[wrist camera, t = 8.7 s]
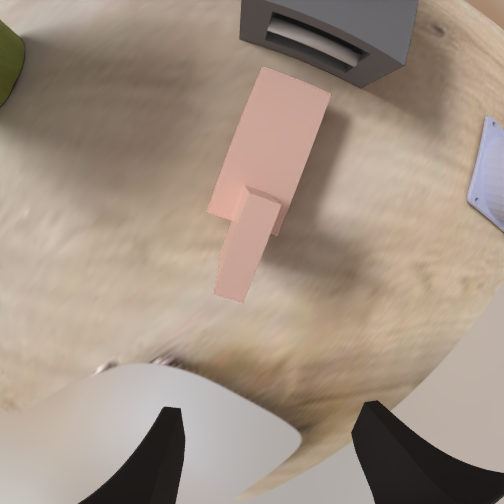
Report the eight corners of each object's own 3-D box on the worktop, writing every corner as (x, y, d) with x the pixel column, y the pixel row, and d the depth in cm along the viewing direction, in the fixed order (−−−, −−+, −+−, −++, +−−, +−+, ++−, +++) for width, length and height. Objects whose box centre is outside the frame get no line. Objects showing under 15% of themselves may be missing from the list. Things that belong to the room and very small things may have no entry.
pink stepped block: (329, 95, 14) (370, 67, 9) (263, 267, 16) (276, 312, 11) (261, 68, 13) (274, 24, 8) (195, 245, 16) (178, 282, 11)
